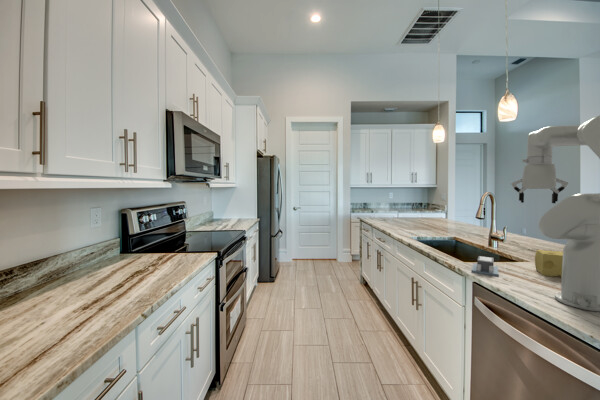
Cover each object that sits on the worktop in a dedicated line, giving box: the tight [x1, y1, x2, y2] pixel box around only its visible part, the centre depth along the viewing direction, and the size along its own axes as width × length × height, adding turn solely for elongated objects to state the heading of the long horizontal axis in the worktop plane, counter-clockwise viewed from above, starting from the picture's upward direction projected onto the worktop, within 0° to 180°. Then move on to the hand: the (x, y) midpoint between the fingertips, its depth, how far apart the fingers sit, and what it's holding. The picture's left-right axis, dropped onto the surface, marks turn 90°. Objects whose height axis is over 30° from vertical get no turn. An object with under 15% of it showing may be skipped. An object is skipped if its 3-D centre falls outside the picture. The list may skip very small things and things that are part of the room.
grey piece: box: [471, 262, 500, 277], centre depth 123 cm, size 14×10×4 cm
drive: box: [476, 255, 495, 272], centre depth 123 cm, size 10×6×5 cm, turn 142°
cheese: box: [534, 249, 563, 278], centre depth 118 cm, size 10×11×10 cm
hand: (537, 202), depth 107 cm, fingers open, 9 cm apart
